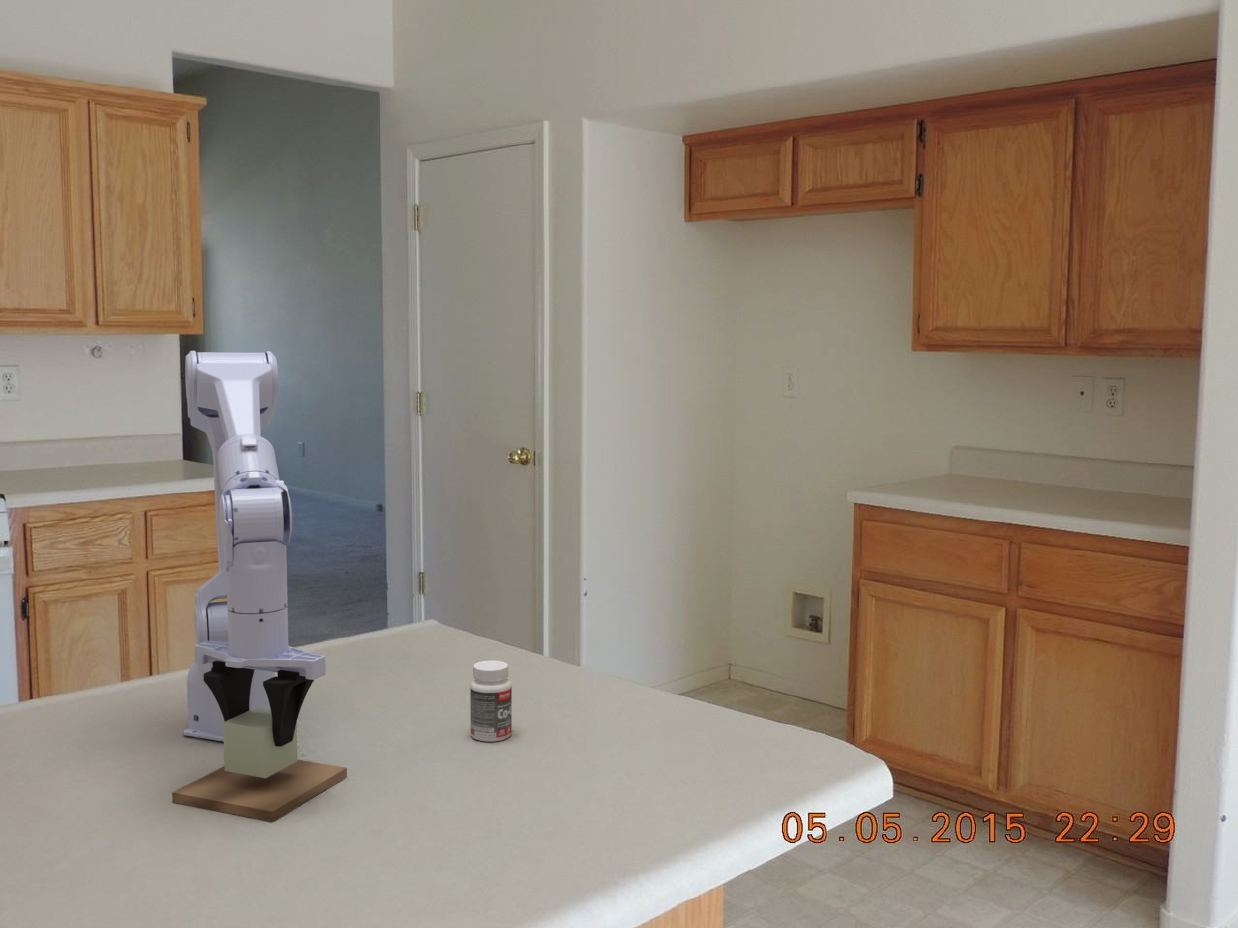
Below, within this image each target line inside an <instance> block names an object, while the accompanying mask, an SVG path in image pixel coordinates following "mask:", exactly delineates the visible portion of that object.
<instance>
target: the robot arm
mask: <svg viewBox="0 0 1238 928" xmlns="http://www.w3.org/2000/svg"><path fill="white" fill-rule="evenodd" d="M184 361H185V362H184V363H185V364H184V365H185V366H184V367H185V368H184V372H185V373H184V375H185V376H184V377H185V380H184V381H185V394H186V395H185V396H186V402H187V403H186V404H187V405H186V406H187V418H189V420H190V426H192V427H193V428H195V429H197V430H200V431H201V432H204V433H205V434H206V436H207V439H208V442H209V445H210V447H211V452H212V463H213V464H212V465H213V467H212V468H213V482H214V483H213V484H214V502H215V503H214V504H215V505H214V506H215V524H216V526H215V527H216V541H217V560H218V561H217V563H218V572H216V574H214V575H213V576H212V577H211V578H209V579H208V580H207V581H206V582H204V583H203V584H202V585H200V586H199V588H197V592H196V593H195V595H194V600H195V603H194V604H195V605H194V606H195V607H194V636H195V637H194V640H195V645H194V647H193V648H194V660H193V662H192V663H191V666H189V670H188V673H187V677H186V678H187V679H186V699H187V700H186V702H187V727H188V728H186V729H184V730H183V736H187V737H194V738H200V739H206V740H212V741H217V742H218V741H219V742H223V743H224V730H223V722H225V721H227V720H230V719H232V718H234V717H236V716H239V715H241V714H243V713H245V712H247V711H250V710H252V709H254V708H256V707H257V708H263V709H270V710H271V715H272V731H273V739H274V743H275V746H278V747H282V746H284V745H285V744H287V743H289V742H291V741H293V737H294V732H295V727H296V723H297V724H298V719H299V714H300V712H301V709H302V706H303V703H304V700H305V698H306V696H307V695H308V692H309V690H310V688H311V687H312V685H313V683H314V681H315V680H317V679H320V678H322V677H323V676H326V674H327V673H326V668H327V667H326V656H325V655H323V654H322V655H320V654H315V653H312V652H308V651H305V650H303V649H299V648H296V647H293V646H290V645H289V611H288V606H289V604H288V603H289V602H288V568H287V564H288V563H287V562H288V561H287V558H288V555H287V545H286V544H285V543H284V542H283V541H284V540H285V542H286V543H287V544H290V541H291V537H292V531H293V512H292V511H293V509H292V501H291V498H290V494H289V489H288V487H287V485H286V484H285V482H284V480H280V474H279V470H278V465H277V460H276V459H277V458H276V452H275V448H274V446H273V444H272V443H271V442H270V441H269V440H268V439H266V438H265V437H263V436H261V435H262V434H261V433H262V432H261V430H263V428H266V427H268V426H270V425H271V424H272V418H273V417H274V416H275V409H276V404H277V400H278V398H279V397H278V395H279V368H278V361H277V357H276V356H275V355H274V354H273V352H272V351H271V350H270V351H269V350H267V351H266V350H265V352H240V351H239V352H234V351H233V352H232V351H231V352H224V351H223V352H221V351H220V352H217V351H216V352H215V351H214V352H213V351H210V352H209V351H207V352H205V351H203V352H202V351H201V352H199V351H198V352H197V351H196V350H190V351H189V352H188V354H187V355H185V360H184ZM222 599H226V601H224V600H223V601H215V600H222ZM212 601H214V602H212ZM276 673H277V676H276Z"/></svg>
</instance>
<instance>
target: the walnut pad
mask: <svg viewBox="0 0 1238 928" xmlns="http://www.w3.org/2000/svg"><path fill="white" fill-rule="evenodd" d="M347 778H348V768H347V767H344V766H338V765H333V764H332V765H331V764H326V763H321V762H316V761H315V762H314V761H309V760H303V759H298V761H297V762H295V763H293V764H291V765H289V766H287V767H286V768H284V769H282V770H280V771H278V772H276V773H275V774H273V775H271V776H269V777H267V778H261V777H256V776H250V775H245V774H239V773H234V772H228V771H225V765H223V766H222V767H220V768H217V769H216V770H214V771H212V772H210V773H208V774H206V775H204V776H202V777H200V778H198V779H196V780H194V781H192V782H190V783H188V784H186V785H184V786H182V787H180V788H178V789H176V790H174V791H172V792H171V797H172V801H171V802H172V803H175V804H180V805H184V806H190V807H196V808H201V809H205V810H209V811H210V810H211V811H216V812H221V813H226V814H231V815H236V816H241V817H247V818H251V819H255V820H256V819H257V820H261V821H267V822H271V823H272V822H275V821H277V820H279V819H280V818H282V817H284V816H285V815H286V814H288V813H290V812H291V811H293V810H295V809H296V808H298V807H300V806H302V805H303V804H305V803H306V802H308V801H309V800H311V799H313V798H315V797H316V796H318V795H319V794H321V793H323V792H325V791H326V790H327V789H330V788H331V787H333V786H334V785H336V784H337V783H340V782H341V781H343V780H345V779H347Z"/></svg>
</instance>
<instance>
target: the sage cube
mask: <svg viewBox="0 0 1238 928" xmlns="http://www.w3.org/2000/svg"><path fill="white" fill-rule="evenodd" d="M297 724H298V722H297V723H296V727H295V732H294V737H293V741H291V742H289V743H287V744H285V745H284V746H282V747H278V746H275V743H274V739H273V731H272V715H271V710H270V709H263V708H257V707H256V708H254V709H252V710H250V711H247V712H245V713H243V714H241V715H239V716H236V717H234V718H232V719H230V720H227V721H225V722H223V730H224V742H223V757H224V762H223V763H224V766H225V771H228V772H234V773H239V774H245V775H250V776H256V777H261V778H267V777H269V776H271V775H273V774H275V773H276V772H278V771H280V770H282V769H284V768H286V767H287V766H289V765H291V764H293V763H295V762H297V761H298V760H299V758H298V725H297Z"/></svg>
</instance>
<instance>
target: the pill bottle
mask: <svg viewBox="0 0 1238 928" xmlns="http://www.w3.org/2000/svg"><path fill="white" fill-rule="evenodd" d="M472 668H473V670H472V676H473V680H471V682H470V689H469V690H470V693H469V694H470V696H469V697H470V699H469V700H470V701H469V702H470V736H471V737H472V738H473V740H476V741H481V742H486V743H487V742H488V743H490V742H491V743H492V742H493V743H494V742H500V741H504V740H507V739H508V738H510V737H511V736H512V727H513V725H512V722H513V721H512V719H513V718H512V710H513V709H512V707H513V705H512V700H513V699H512V695H513V694H512V682H511V680H510V679H508V678H509V664H508V663H507V662H505V661H501V660H482V661H478V662H475V663H474V664H473V666H472Z"/></svg>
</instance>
